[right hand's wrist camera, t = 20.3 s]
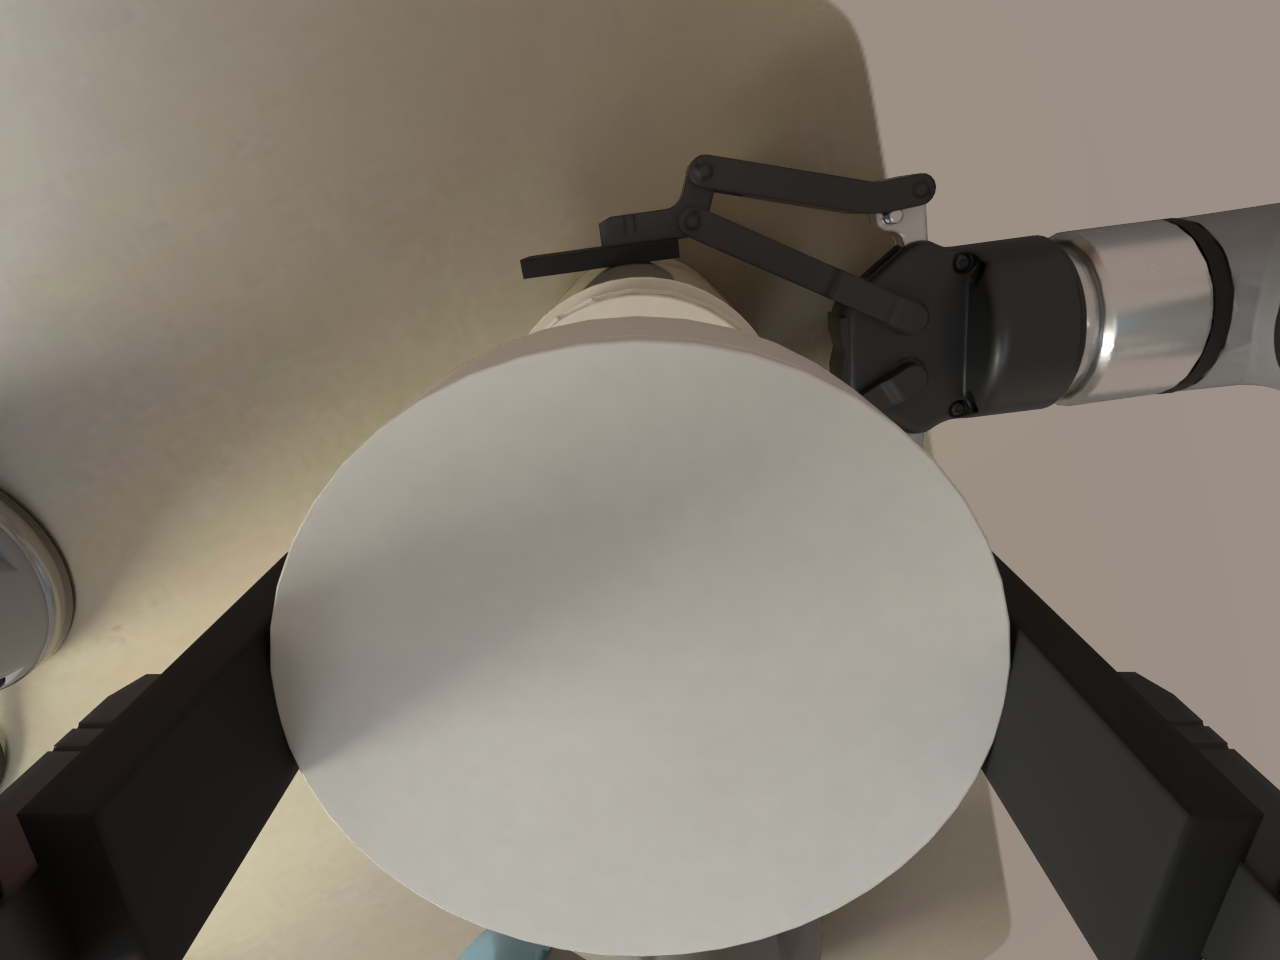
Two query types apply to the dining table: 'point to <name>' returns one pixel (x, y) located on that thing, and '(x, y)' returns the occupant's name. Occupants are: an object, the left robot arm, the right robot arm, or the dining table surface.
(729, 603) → the lid
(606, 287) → the jar
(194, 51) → the dining table surface
